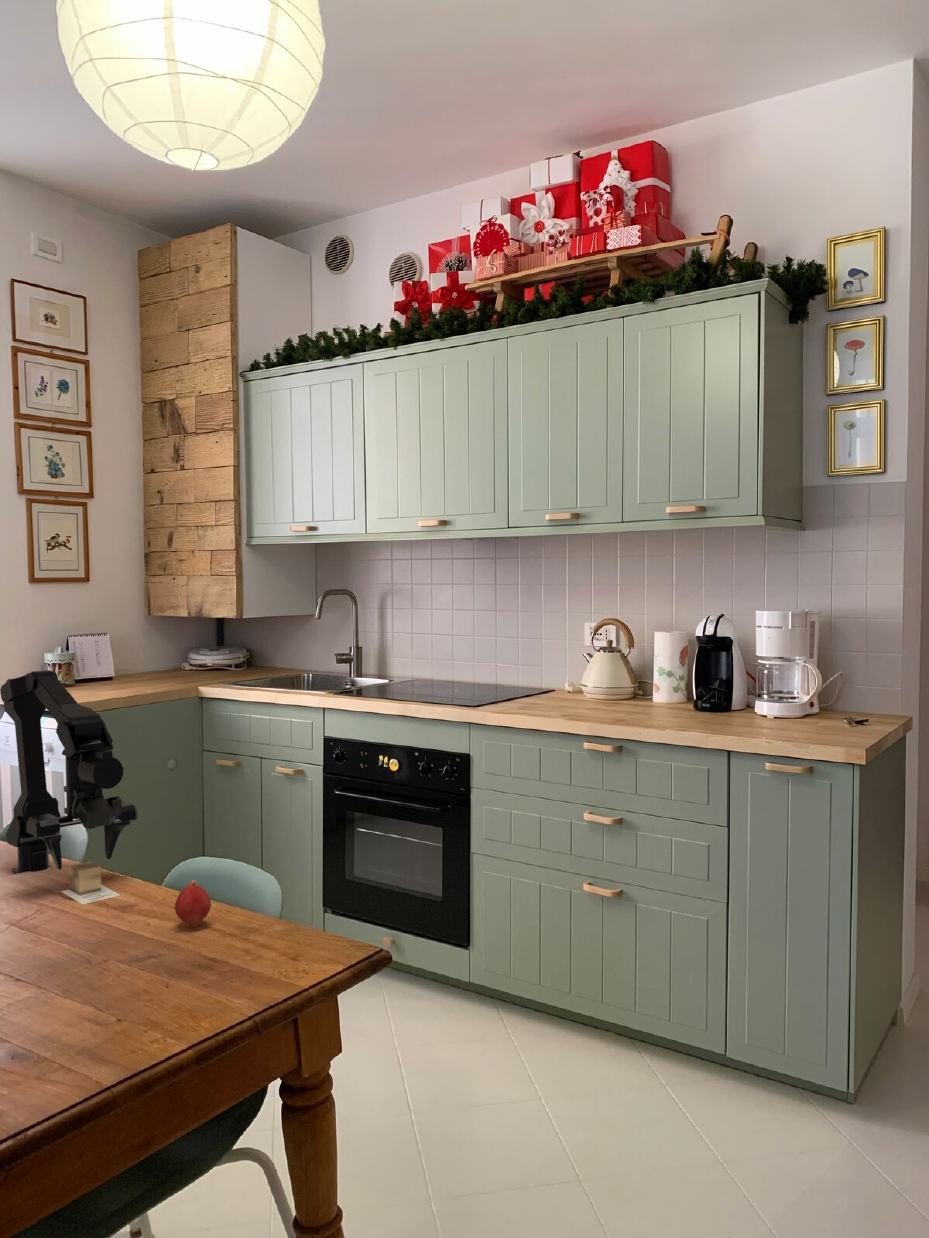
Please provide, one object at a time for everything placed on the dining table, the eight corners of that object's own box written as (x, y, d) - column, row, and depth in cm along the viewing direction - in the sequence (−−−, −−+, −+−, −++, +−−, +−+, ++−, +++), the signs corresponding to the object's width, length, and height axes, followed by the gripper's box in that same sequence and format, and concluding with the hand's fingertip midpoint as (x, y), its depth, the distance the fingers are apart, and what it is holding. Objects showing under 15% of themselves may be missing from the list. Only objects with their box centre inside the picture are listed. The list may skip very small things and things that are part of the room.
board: (61, 896, 175) (61, 891, 175) (98, 887, 180) (98, 882, 180) (82, 909, 168) (82, 903, 168) (120, 900, 173) (120, 894, 173)
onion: (168, 930, 157) (167, 883, 157) (188, 919, 163) (187, 873, 163) (198, 934, 156) (197, 886, 155) (217, 922, 161) (216, 876, 161)
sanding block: (69, 889, 176) (68, 865, 176) (90, 884, 179) (89, 861, 179) (79, 895, 173) (79, 871, 173) (101, 890, 176) (100, 866, 175)
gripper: (47, 795, 163) (49, 884, 164) (149, 780, 176) (151, 862, 177) (24, 786, 171) (26, 870, 172) (124, 771, 184) (125, 850, 185)
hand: (84, 863), depth 176 cm, fingers open, 9 cm apart
